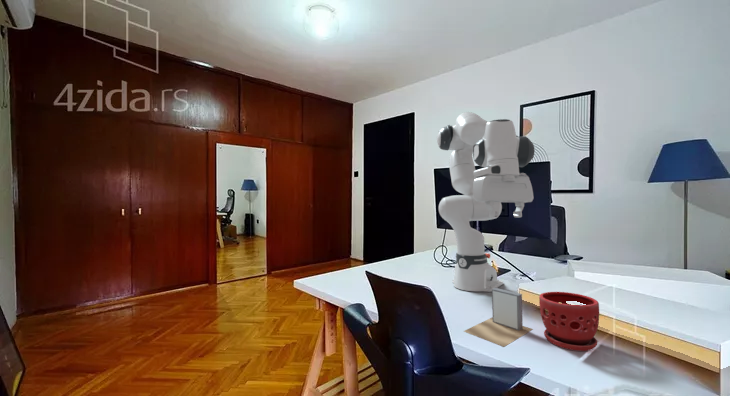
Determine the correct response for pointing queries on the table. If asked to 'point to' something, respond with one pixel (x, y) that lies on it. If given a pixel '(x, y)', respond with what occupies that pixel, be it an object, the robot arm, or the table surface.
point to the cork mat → (496, 332)
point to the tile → (507, 308)
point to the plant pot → (570, 320)
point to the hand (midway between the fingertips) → (505, 217)
